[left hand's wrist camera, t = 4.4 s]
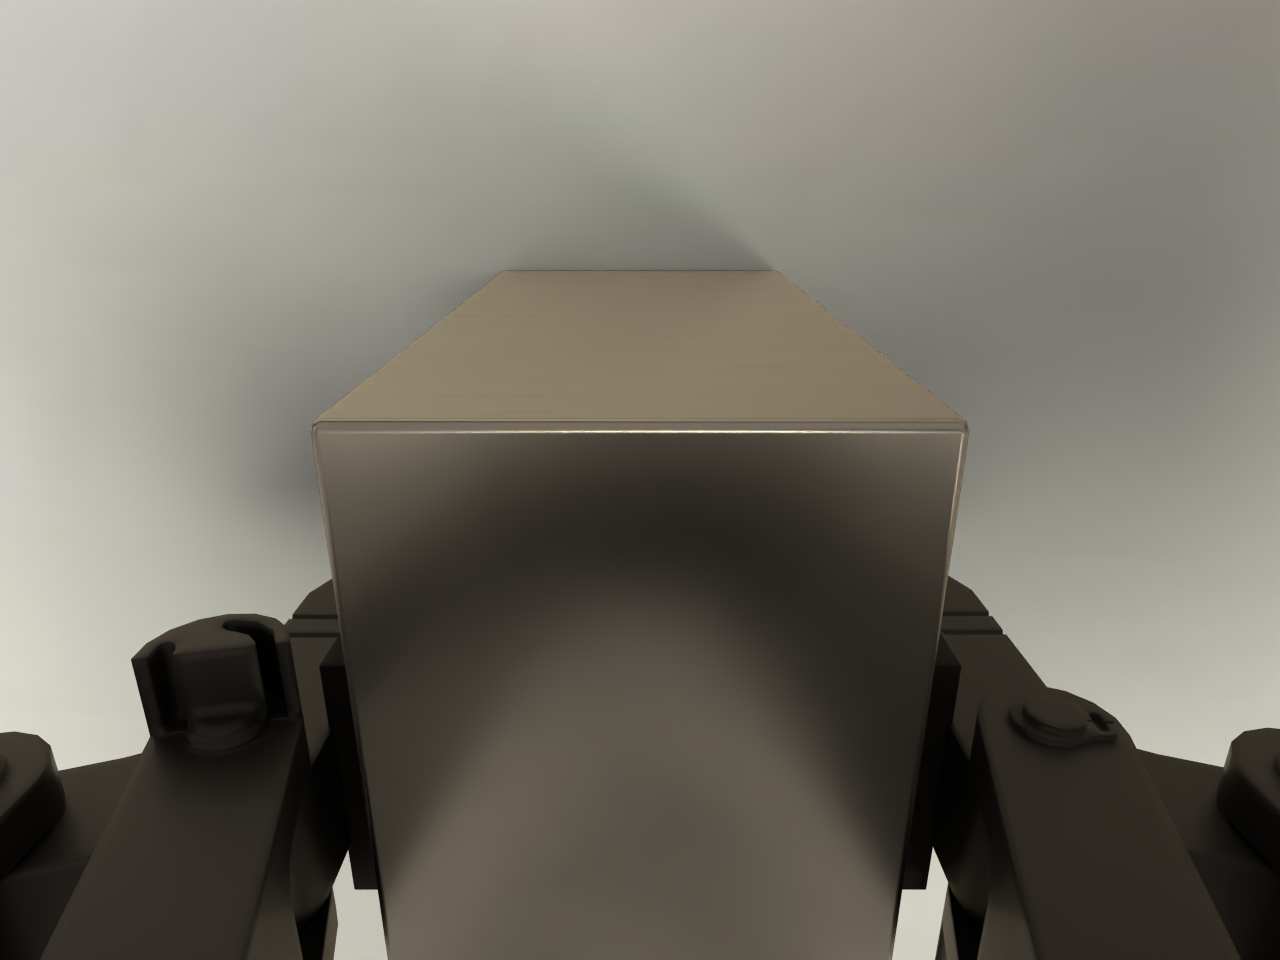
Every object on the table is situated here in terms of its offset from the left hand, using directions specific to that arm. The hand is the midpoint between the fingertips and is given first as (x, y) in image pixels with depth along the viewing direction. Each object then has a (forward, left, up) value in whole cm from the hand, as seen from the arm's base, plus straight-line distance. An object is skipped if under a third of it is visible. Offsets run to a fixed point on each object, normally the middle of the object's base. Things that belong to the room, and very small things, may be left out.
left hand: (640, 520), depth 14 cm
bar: (+4, +7, -1) cm, 8 cm away
